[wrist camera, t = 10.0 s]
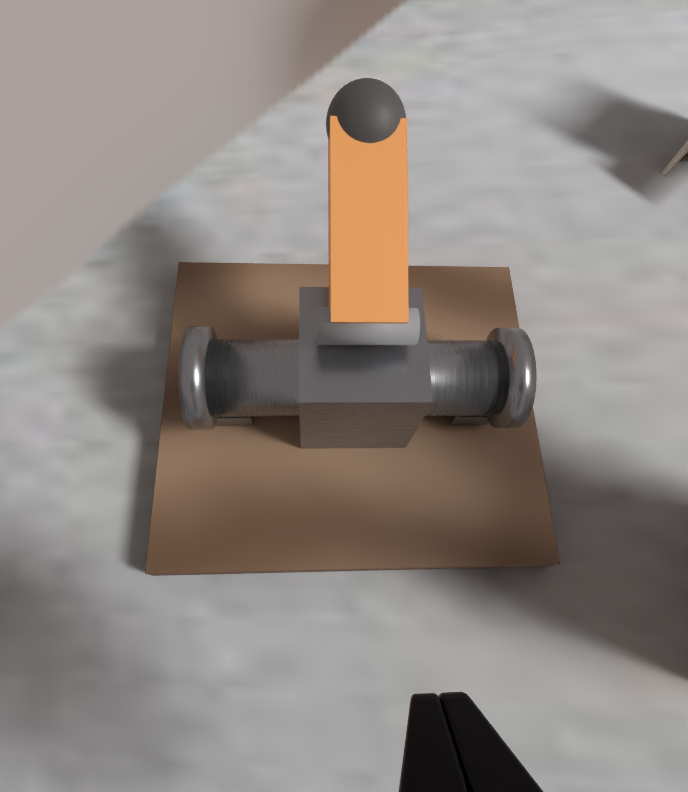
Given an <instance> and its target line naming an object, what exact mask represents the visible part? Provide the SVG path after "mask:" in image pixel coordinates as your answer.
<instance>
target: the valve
mask: <svg viewBox="0 0 688 792" xmlns="http://www.w3.org/2000/svg"><path fill="white" fill-rule="evenodd" d="M408 306H409V308H418V310H419V315H420V334H419V340H418V343H417V345H317V307H329V287H299V339H217V336H216V332H215V330H214V328H213V327H212V326H187V327H186V329H185V331H184V334H183V337H182V341H181V347H180V354H179V373H178V378H179V397H180V405H181V411H182V416H183V419H184V422H185V425H186V427H187V428H188V429H189V430H212V429H214V427H215V426H253V422H254V416H299V418H300V439H301V449H333V448H406V447H407V445H408V443H409V442H410V440H411V438H412V437H413V435H414V433H415V432H416V430H417V428H418V427H419V425H420V423H421V422H422V420H423V418H424V417H425V416H449V420H450V425H487V424H488V423H489V424H490V425H491V426H492V427H494V428H518V427H521V426H522V425H523V424H524V423H525V422H526V421H527V419H528V417H529V415H530V413H531V410H532V407H533V403H534V398H535V392H536V362H535V355H534V350H533V347H532V344H531V341H530V339H529V337H528V335H527V334H526V332H525V331H523V330H522V329H520V328H495V329H493V330H492V331H491V332H490V333H489V335H488V337H487V339H486V340H427V333H426V323H425V313H424V302H423V292H422V288H408Z"/></svg>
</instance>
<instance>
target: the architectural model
mask: <svg viewBox="0 0 688 792" xmlns="http://www.w3.org/2000/svg"><path fill="white" fill-rule="evenodd" d="M687 153H688V140H687V142H686V143H685V144H684V145H683V146H682V148H681V149H680V150H679V151H678V153H677V154H676V155H675V156H674V158H673V159H672V160H671V161H670V163H669V164H668V165H667V166H666V168H665V169H664V170H663V171H662V172H661V173H662V174H664V175H665V174H666V173H667V172H668V171H669V170H670V169H671V168H672V167H673V166H674V165H675V164H676V163H677V162H678V161H680V160H681V159H682V158H683V157H684V156H685V155H686V154H687Z"/></svg>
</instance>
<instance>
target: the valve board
mask: <svg viewBox="0 0 688 792" xmlns="http://www.w3.org/2000/svg"><path fill="white" fill-rule="evenodd" d="M299 287H329V265H321V264H255V263H189V262H179V265H178V275H177V284H176V293H175V302H174V312H173V321H172V330H171V339H170V349H169V358H168V367H167V376H166V385H165V395H164V404H163V413H162V422H161V432H160V441H159V450H158V459H157V469H156V478H155V487H154V496H153V506H152V515H151V524H150V533H149V543H148V552H147V561H146V570H145V574H149V575H153V576H158V575H199V574H241V573H283V572H325V571H367V570H409V569H451V568H493V567H535V566H551V565H556V564H560V563H559V557H558V551H557V545H556V539H555V534H554V528H553V522H552V516H551V510H550V504H549V499H548V493H547V487H546V481H545V475H544V469H543V464H542V458H541V452H540V446H539V440H538V434H537V428H536V423H535V417H534V411H533V407H532V410H531V413H530V415H529V417H528V419H527V421H526V422H525V423H524V424H523V425H522V426H521V427H518V428H494V427H492V426H491V425H490V424H489V423H488V424H487V425H450V420H449V416H425V417H424V418H423V420H422V422H421V423H420V425H419V427H418V428H417V430H416V432H415V433H414V435H413V437H412V438H411V440H410V442H409V443H408V445H407V447H406V448H333V449H301V439H300V418H299V416H254V422H253V426H215V427H214V429H212V430H189V429H188V428H187V427H186V425H185V422H184V419H183V416H182V411H181V405H180V397H179V378H178V373H179V354H180V347H181V341H182V337H183V334H184V331H185V329H186V327H187V326H212V327H213V328H214V330H215V332H216V336H217V339H299ZM408 288H422V292H423V302H424V313H425V323H426V333H427V340H486V339H487V337H488V335H489V333H490V332H491V331H492V330H493V329H495V328H519V323H518V317H517V312H516V306H515V300H514V294H513V288H512V282H511V277H510V271H509V267H453V266H408Z"/></svg>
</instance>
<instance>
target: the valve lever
mask: <svg viewBox="0 0 688 792" xmlns="http://www.w3.org/2000/svg"><path fill="white" fill-rule="evenodd" d="M326 128H327V135H328V139H329V140H328V193H329V307H317V345H417V343H418V340H419V334H420V315H419V310H418V308H409V306H408V168H407V118H406V114H405V110H404V106H403V103H402V101H401V99H400V98H399V96H398V95H397V93H396V92H395V91H394V90H393V89H392V88H391V87H390V86H389V85H387V84H386V83H384V82H382V81H380V80H377V79H371V78H362V79H357V80H354V81H352V82H350V83H348V84H347V85H345V86H344V87H342V88H341V89H340V90H339V91H338V92H337V94H336V95H335V96H334V98H333V100H332V102H331V104H330V106H329V109H328V113H327V118H326Z"/></svg>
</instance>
